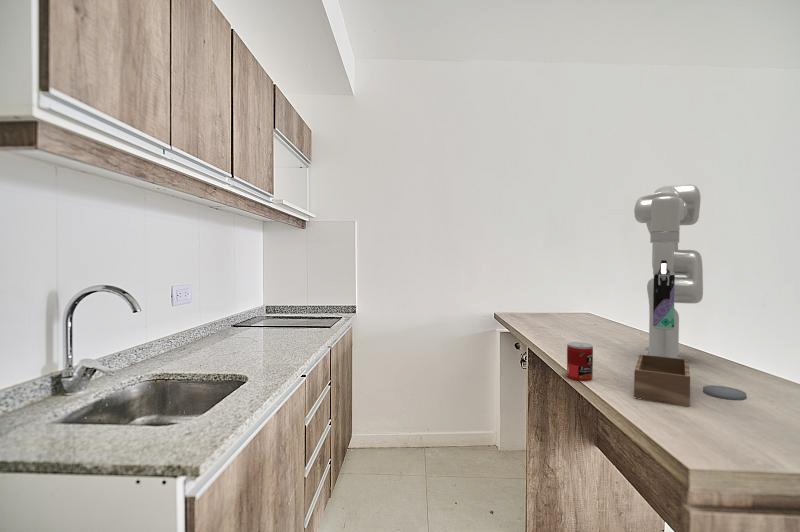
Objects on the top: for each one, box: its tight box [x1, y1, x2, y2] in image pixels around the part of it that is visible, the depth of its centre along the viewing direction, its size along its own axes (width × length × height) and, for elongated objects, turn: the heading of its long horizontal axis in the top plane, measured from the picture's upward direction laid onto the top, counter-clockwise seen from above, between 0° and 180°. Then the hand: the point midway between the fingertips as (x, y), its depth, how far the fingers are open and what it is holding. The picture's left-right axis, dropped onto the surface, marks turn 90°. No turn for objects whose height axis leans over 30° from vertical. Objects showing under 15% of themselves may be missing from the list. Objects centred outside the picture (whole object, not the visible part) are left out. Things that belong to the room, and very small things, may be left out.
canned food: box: [566, 341, 594, 382], centre depth 142 cm, size 8×8×11 cm
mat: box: [702, 385, 747, 401], centre depth 125 cm, size 10×10×1 cm
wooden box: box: [633, 354, 691, 408], centre depth 128 cm, size 22×13×8 cm, turn 148°
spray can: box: [653, 263, 676, 330], centre depth 132 cm, size 6×6×20 cm
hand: (663, 297), depth 132 cm, fingers closed on spray can, 5 cm apart
